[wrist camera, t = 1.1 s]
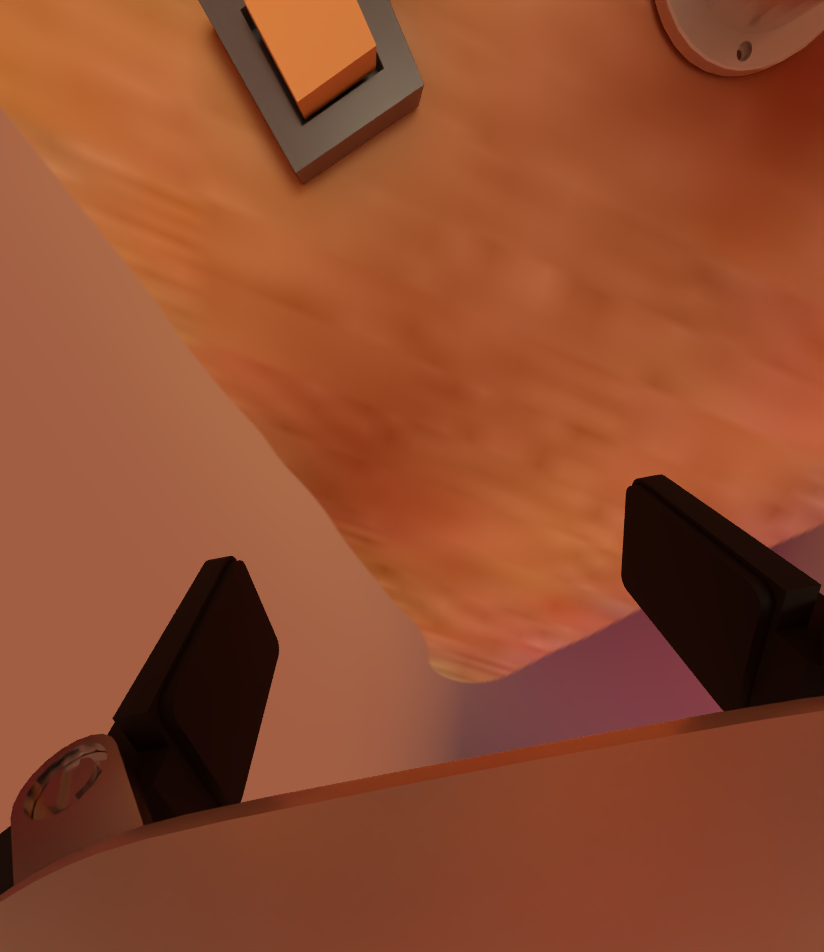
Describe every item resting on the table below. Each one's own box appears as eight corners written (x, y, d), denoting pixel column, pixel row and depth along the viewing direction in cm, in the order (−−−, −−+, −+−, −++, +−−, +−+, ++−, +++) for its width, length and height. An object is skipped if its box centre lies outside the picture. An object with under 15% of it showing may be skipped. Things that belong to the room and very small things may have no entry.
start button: (327, -39, 20) (322, -79, 18) (376, 69, 22) (376, 45, 20) (251, 19, 21) (237, -13, 18) (304, 119, 22) (297, 102, 20)
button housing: (342, -74, 21) (337, -125, 19) (418, 105, 25) (423, 84, 22) (214, 25, 22) (193, -10, 20) (303, 184, 26) (295, 173, 23)
